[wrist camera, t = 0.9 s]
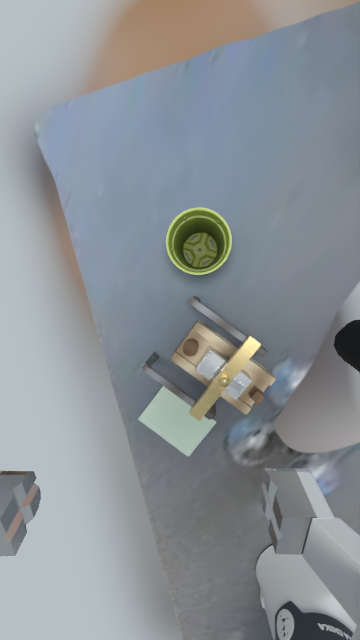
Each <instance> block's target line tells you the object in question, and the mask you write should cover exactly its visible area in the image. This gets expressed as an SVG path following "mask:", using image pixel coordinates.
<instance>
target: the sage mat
mask: <svg viewBox="0 0 360 640" xmlns="http://www.w3.org/2000/svg"><path fill="white" fill-rule="evenodd" d="M191 408H192V407H191V406H190V405H188V404H187V403H186V402H184V401H183V400H182V399H180V398H179V397H178V396H176V395H175V394H174V393H172V392H171V391H170V390H168V389H167V388H165V387H164V386H162V388H161V389H160V390H159V392H158V393H157V394H156V396H155V397H154V398H153V400H152V401H151V402H150V404H149V405H148V406H147V408H146V409H145V410H144V412H143V413H142V414H141V416H140V417H139V418H138V420H139V421H141V422H142V423H143V424H145V425H146V426H147V427H149V428H150V429H151V430H153V431H154V432H155V433H157V434H158V435H159V436H161V437H162V438H164V439H165V440H166V441H168V442H169V443H170V444H172V445H173V446H174V447H176V448H177V449H178V450H180V451H181V452H182V453H184V454H185V455H186V456H188V457H189V456H190V454H191V453H192V452H193V451H194V449H195V448H196V447H197V446H198V445H199V443H200V442H201V441H202V440H203V438H204V437H205V436H206V435H207V434H208V432H209V431H210V430H211V429H212V428H213V426H214V425H215V424H216V423H217V421H216V420H215V419H210V420H209V419H207V418H206V417H205V416H203V418H202V419H201V420H200V421H198V420H197V419H196V418H194V417H193V416H192V415H190V414H189V410H190V409H191Z"/></svg>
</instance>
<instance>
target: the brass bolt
mask: <svg viewBox="0 0 360 640" xmlns="http://www.w3.org/2000/svg"><path fill="white" fill-rule="evenodd" d="M260 346H261V343H260V342H258V341H257V340H256V339H254V338H253V337H251V336H250V335H248V337H247V338H246V339H245V340H244V342H243V343H242V344H241V345H240V347H239V348H238V349H237V350H236V352H235V353H234V354H233V356H232V357H231V358H230V359H229V361H228V362H227V363H226V364H225V366H224V367H223V368H222V369H221V371H220V372H219V373H218V375H217V376H216V377H215V378H214V380H213V381H212V382H211V383H210V385H209V386H208V387H207V389H206V390H205V391H204V392H203V394H202V395H201V396H200V397H199V399H198V400H197V401H196V402H195V404H194V405H193V406H192V408H191V409H190V410H189V414H190V415H192V416H193V417H194V418H196V419H197V420H198V421H200V420H201V419H202V418H203V416H204V415H205V414H206V413H207V411H208V410H209V409H210V408H211V406H212V405H213V404H214V403H215V402H216V400H217V399H218V398H219V397H220V395H221V394H222V393H223V392H224V390H225V389H226V388H227V387H228V385H229V384H230V383H231V382H232V380H233V379H234V378H235V377H236V375H237V374H238V373H239V372H240V370H241V369H242V368H243V367H244V365H245V364H246V363H247V362H248V360H249V359H250V358H251V357H252V356H253V354H254V353H255V352H256V351H257V349H258V348H259V347H260Z"/></svg>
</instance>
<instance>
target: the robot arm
mask: <svg viewBox="0 0 360 640" xmlns="http://www.w3.org/2000/svg"><path fill="white" fill-rule="evenodd" d="M35 479H36V476H35V473H34V472H32V471H0V556H15V555H16V553H17V551H18V549H19V547H20V545H21V543H22V541H23V539H24V537H25V535H26V533H27V530H26V524H27V523H28V522H29V521H31V520H32V518H34V516H35V514H36V512H37V510H38V507H39V502H40V498H41V497H40V489H39V486H37V485H36V484H35V483H34V481H35ZM263 479H264V483H263V484H262V485H261V502H262V508H263V512H264V515H265V517H266V518H267V519H268V520H269V521H270V525H269V534H270V537H271V541H272V544H273V545H271V546H270V547H268V548H267V549H266V550H265V551H264V552H263V553H262V554H261V556H260V557H259V559H258V561H257V565H256V576H257V580H258V583H259V586H260V589H261V591H260V601H261V604H262V607H263V608H264V609H265V610H266V613H267V617H268V621H269V625H270V629H271V633H272V637H273V640H360V536H359V535H358V534H357V533H356V532H355V531H354V530H353V529H351V528H350V527H349V526H348V525H347V524H346V523H345V522H343V521H342V520H341V519H340V518H334V516H333V514H332V512H331V510H330V508H329V506H328V504H327V502H326V500H325V498H324V496H323V494H322V492H321V490H320V488H319V486H318V484H317V482H316V480H315V478H314V476H313V474H312V472H311V471H310V470H309V469H308V468H295V469H292V468H276V469H264V471H263Z"/></svg>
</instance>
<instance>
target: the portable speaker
mask: <svg viewBox="0 0 360 640" xmlns="http://www.w3.org/2000/svg"><path fill="white" fill-rule="evenodd" d="M334 347H335V349H336V351H337V353H338V355H339V356H341V357H342V359H343V360H344V361H346V362H347V363H348V364H350V365H351V366H353V367H354V368H355V369H356V370H358V371H359V372H360V320H354V321H352V322H350V323H348V324H347V325H346V326H345V327H344V328H342V329H341V331H339V332H338V333H337V335H336V336H335V342H334Z"/></svg>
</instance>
